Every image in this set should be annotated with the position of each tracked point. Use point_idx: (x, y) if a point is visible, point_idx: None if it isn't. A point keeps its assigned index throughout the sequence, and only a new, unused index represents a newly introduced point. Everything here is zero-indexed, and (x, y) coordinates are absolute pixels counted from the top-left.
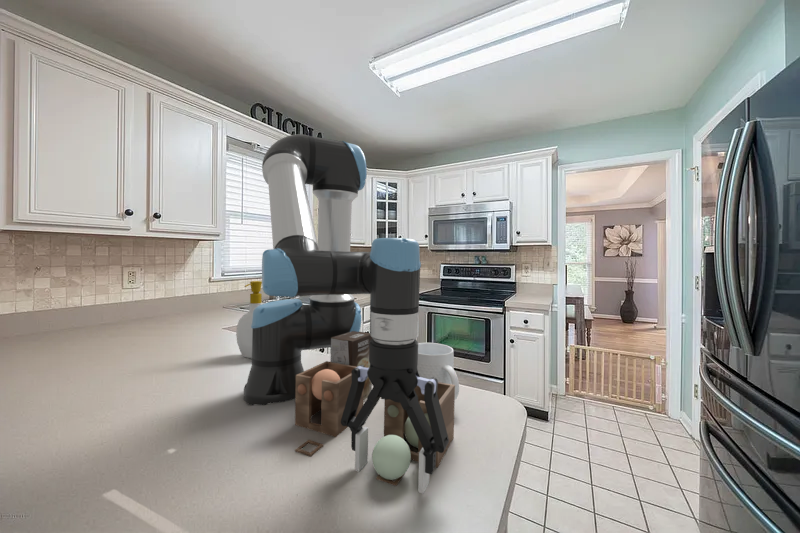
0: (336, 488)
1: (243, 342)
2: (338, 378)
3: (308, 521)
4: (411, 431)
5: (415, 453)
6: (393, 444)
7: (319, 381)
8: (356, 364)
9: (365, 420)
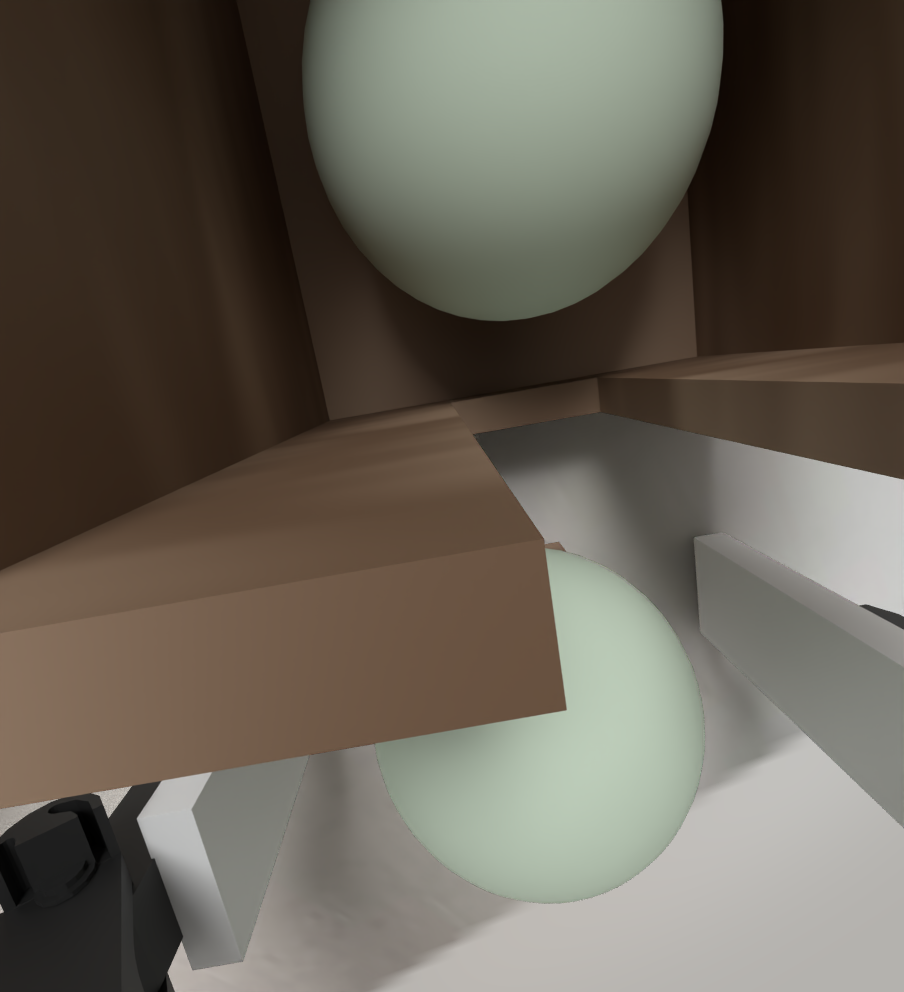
0: (296, 809)
1: None
2: None
3: (354, 980)
4: (499, 306)
5: (570, 400)
6: (626, 868)
7: None
8: None
9: (136, 972)
